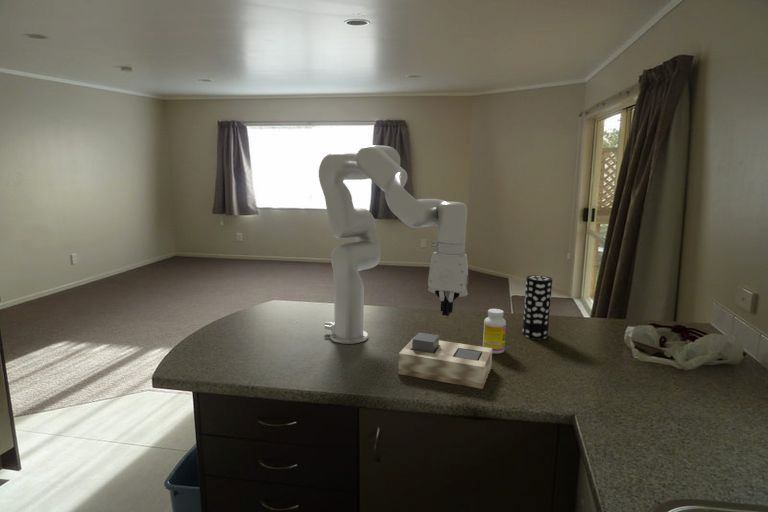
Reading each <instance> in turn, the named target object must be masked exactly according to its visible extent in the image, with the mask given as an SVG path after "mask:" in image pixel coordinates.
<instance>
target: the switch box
mask: <svg viewBox="0 0 768 512" xmlns="http://www.w3.org/2000/svg"><path fill="white" fill-rule="evenodd" d="M459 349H464V350H470V351H477V352H481V357H480V359H479V361H477V360H471V359H464V358H458V357H455V355H456V354H457V352H458V350H459ZM492 359H493V353H492V348H487V347H483V346H481V345H472V344H466V343H459V342H453V341H446V340H441V339H439V348H438V350H437V351H436V352H435V354H433V353H427V352H420V351H414V350H412V339H411V340H410V341H409V342H408V343H407V344H406V345H405V346H404V347H403V348H402V349H401V350H400V351H399V353H398V370H397V371H398V375H403V376H407V377H408V376H409V377H415V378H419V379H420V378H421V379H425V380H430V381H437V382H442V383H449V384H453V385H459V386H463V387H464V386H465V387H470V388H476V389H481V390H483V389H484V386H485V384H486V381H487V380H488V377H489V375H488V374H490V372H491V370H492V361H493V360H492ZM486 379H487V380H486Z"/></svg>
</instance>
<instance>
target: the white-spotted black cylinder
mask: <svg viewBox="0 0 768 512" xmlns="http://www.w3.org/2000/svg"><path fill="white" fill-rule="evenodd" d="M552 288H553V278H552V277H549V276H545V275H537V274H536V275H534V274H531V275H527V276H526V279H525V293H524V306H523V319H522V335H523V337H526V338H528V339H532V340H545V339H547V338H548V337H549V335H548V334H549V325H550V314H551V313H550V310H551V301H552Z"/></svg>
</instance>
